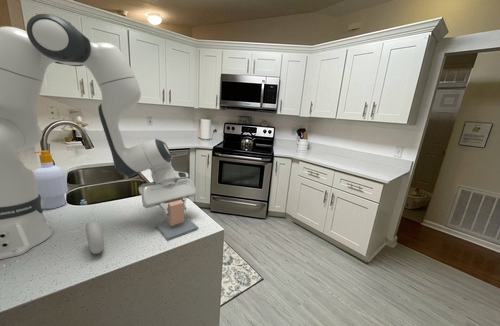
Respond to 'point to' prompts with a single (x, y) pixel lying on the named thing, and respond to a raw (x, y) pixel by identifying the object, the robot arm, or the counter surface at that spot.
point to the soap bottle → (50, 182)
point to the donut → (95, 237)
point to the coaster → (176, 228)
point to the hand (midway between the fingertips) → (176, 211)
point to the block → (176, 212)
